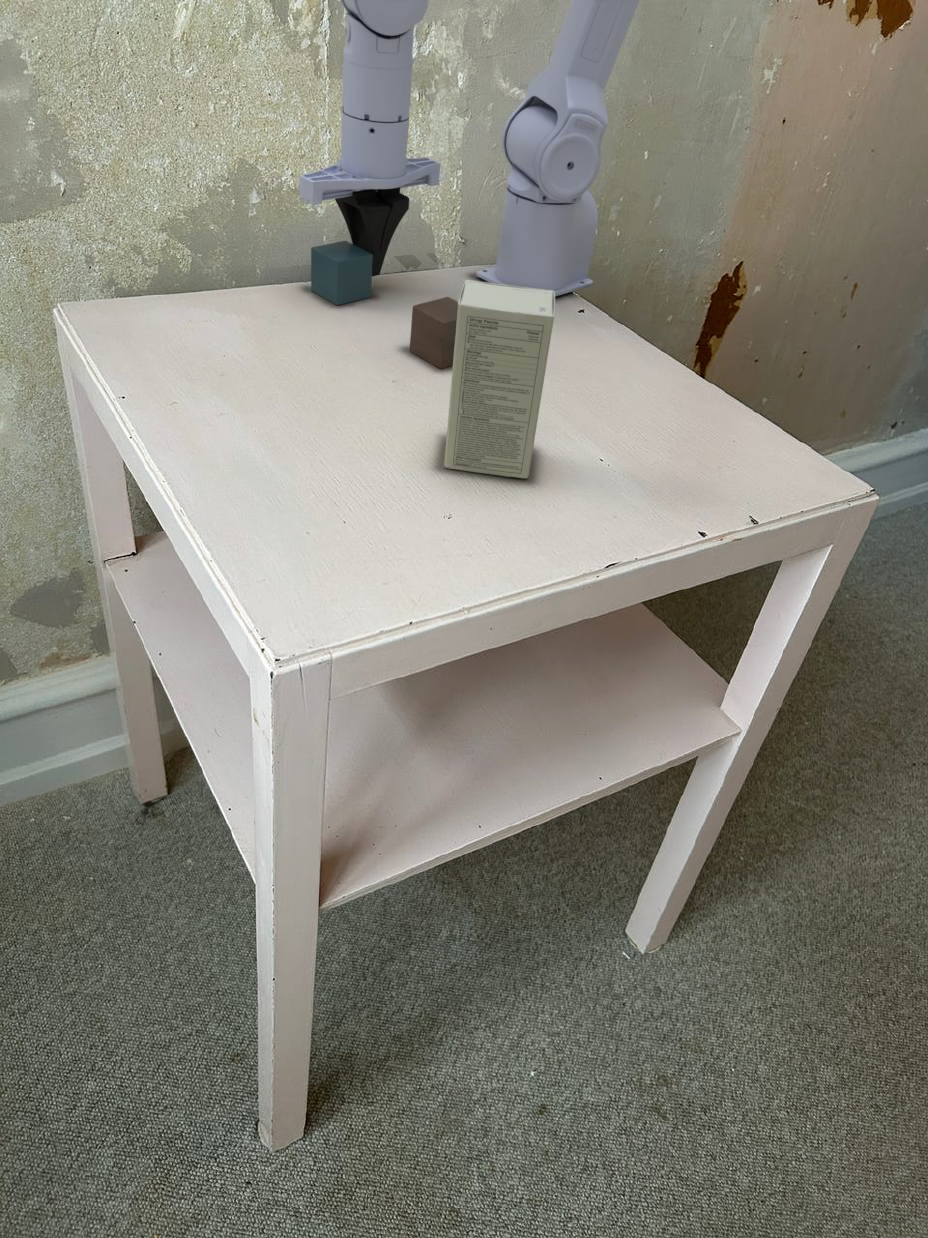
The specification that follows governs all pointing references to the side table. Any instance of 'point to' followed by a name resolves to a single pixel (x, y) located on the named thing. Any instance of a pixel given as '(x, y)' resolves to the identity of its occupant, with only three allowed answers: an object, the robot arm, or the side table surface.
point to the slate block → (341, 272)
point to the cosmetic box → (497, 377)
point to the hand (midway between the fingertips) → (368, 272)
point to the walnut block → (434, 331)
